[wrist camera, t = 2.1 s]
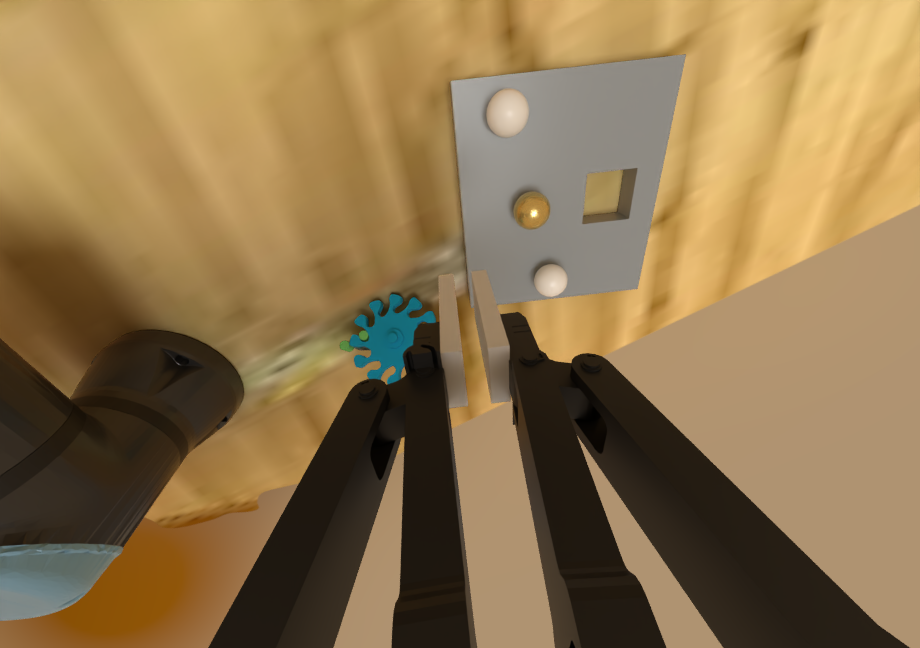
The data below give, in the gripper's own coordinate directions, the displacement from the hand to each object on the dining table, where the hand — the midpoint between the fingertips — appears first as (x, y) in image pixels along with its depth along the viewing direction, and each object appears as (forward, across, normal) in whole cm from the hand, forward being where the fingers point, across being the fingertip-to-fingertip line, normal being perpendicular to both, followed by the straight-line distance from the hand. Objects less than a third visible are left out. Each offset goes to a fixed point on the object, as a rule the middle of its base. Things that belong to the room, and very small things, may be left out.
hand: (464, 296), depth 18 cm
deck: (+18, -10, 0) cm, 21 cm away
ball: (+14, -7, 0) cm, 16 cm away
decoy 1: (+14, -9, +7) cm, 18 cm away
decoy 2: (+14, -5, -8) cm, 17 cm away
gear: (+19, +8, +12) cm, 24 cm away
